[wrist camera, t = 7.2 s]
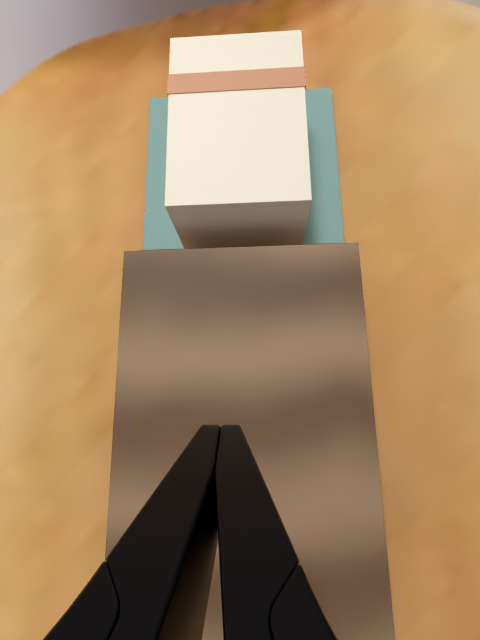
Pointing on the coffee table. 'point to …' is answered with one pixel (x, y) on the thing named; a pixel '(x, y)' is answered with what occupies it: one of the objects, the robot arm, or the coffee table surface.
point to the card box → (237, 140)
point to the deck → (260, 405)
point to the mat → (323, 175)
